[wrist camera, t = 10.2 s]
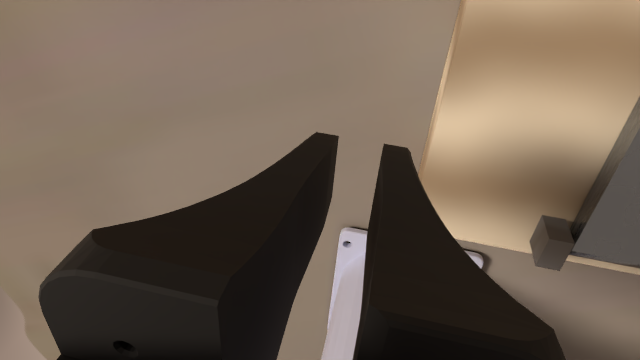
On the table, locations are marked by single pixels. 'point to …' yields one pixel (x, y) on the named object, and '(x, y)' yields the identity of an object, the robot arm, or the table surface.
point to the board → (530, 119)
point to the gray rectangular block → (613, 204)
